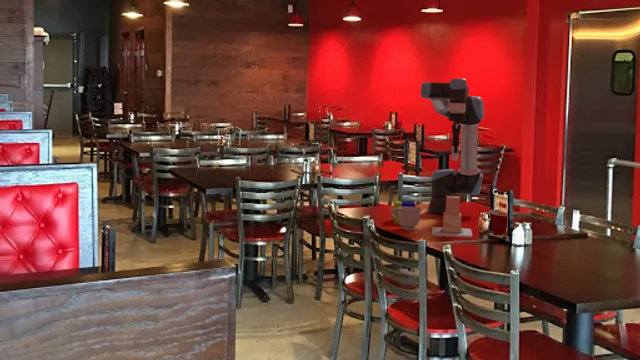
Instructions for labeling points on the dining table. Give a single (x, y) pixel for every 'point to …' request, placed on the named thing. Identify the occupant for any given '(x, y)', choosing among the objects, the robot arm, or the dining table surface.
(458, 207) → the terracotta block
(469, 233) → the base
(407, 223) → the teacup
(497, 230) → the plastic cup
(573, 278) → the dining table surface
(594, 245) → the dining table surface
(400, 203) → the puzzle toy
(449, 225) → the oak cube
